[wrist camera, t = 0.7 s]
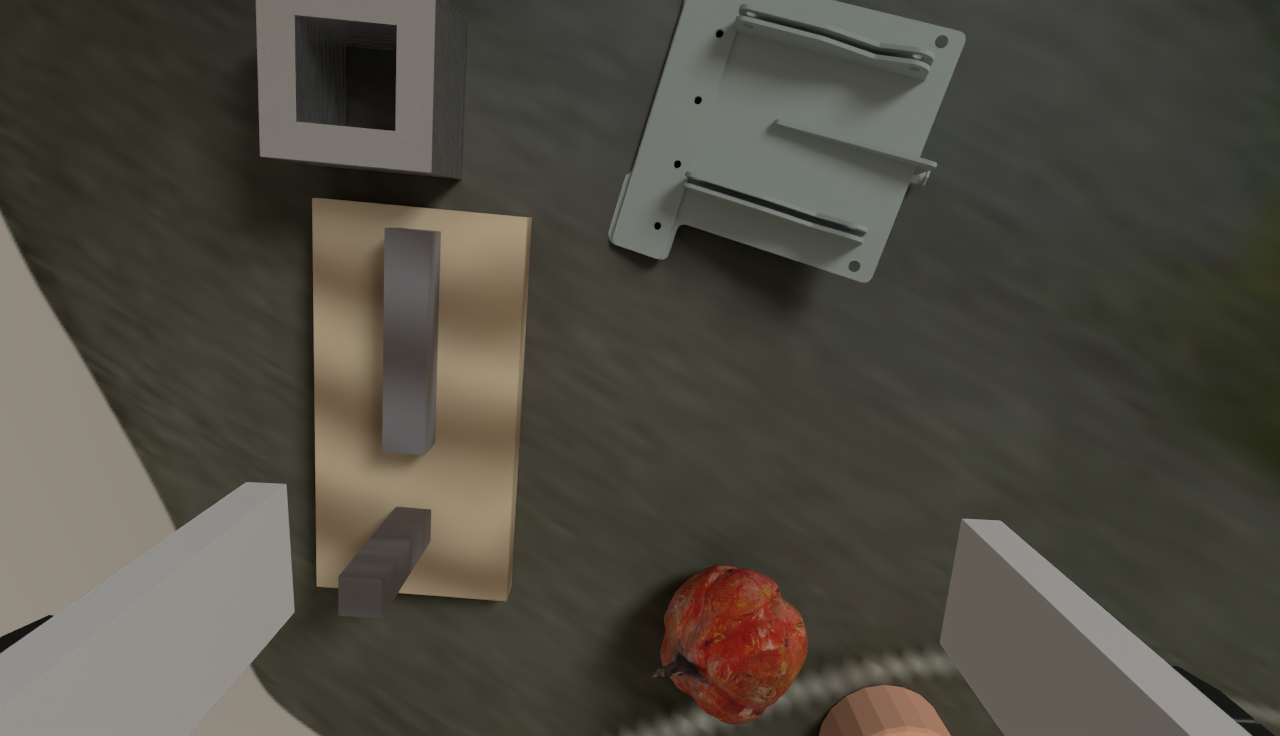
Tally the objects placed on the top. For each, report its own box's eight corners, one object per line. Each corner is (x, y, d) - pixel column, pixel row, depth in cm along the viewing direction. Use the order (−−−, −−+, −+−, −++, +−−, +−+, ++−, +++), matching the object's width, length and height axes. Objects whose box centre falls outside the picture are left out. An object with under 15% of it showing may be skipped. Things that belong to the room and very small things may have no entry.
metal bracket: (1020, -31, 26) (873, 335, 29) (986, 24, 32) (866, 326, 35) (676, -107, 29) (575, 232, 32) (700, -45, 35) (612, 239, 38)
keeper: (326, 198, 33) (223, 192, 25) (531, 217, 33) (497, 217, 25) (329, 572, 37) (241, 673, 29) (511, 586, 38) (476, 690, 29)
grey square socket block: (314, 8, 31) (255, -31, 26) (466, 23, 32) (435, -13, 27) (315, 165, 33) (259, 156, 28) (461, 179, 33) (431, 172, 28)
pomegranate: (773, 524, 39) (641, 547, 33) (876, 609, 34) (742, 656, 28) (731, 625, 42) (599, 665, 35) (821, 719, 37) (685, 786, 30)
